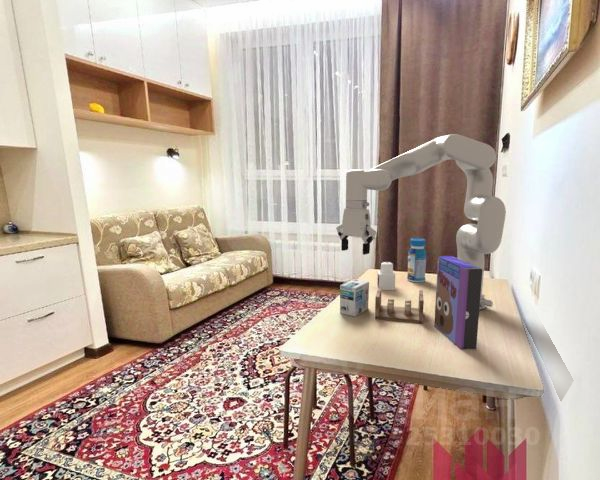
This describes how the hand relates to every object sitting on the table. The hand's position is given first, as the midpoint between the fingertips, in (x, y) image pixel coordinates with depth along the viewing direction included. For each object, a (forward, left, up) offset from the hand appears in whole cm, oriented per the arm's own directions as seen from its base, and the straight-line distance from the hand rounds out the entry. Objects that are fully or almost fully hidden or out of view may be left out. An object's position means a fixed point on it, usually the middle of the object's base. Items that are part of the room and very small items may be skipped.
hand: (355, 252), depth 138 cm
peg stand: (-14, -8, -22) cm, 28 cm away
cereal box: (-36, -4, -23) cm, 43 cm away
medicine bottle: (+8, -33, -23) cm, 41 cm away
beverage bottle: (+5, -54, -23) cm, 59 cm away
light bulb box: (0, 0, -23) cm, 23 cm away
